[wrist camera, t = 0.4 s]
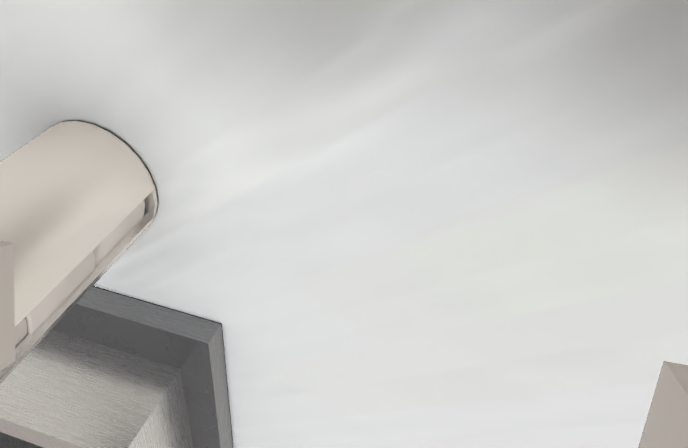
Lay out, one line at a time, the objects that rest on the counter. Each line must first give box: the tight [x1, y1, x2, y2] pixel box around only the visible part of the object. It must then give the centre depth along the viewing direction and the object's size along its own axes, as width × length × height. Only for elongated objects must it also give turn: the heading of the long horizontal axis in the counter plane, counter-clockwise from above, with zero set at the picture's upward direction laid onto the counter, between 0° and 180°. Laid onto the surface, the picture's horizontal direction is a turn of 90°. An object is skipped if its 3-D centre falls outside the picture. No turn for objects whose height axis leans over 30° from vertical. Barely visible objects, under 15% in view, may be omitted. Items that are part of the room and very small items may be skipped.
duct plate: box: [0, 286, 233, 448], centre depth 39 cm, size 18×16×8 cm
